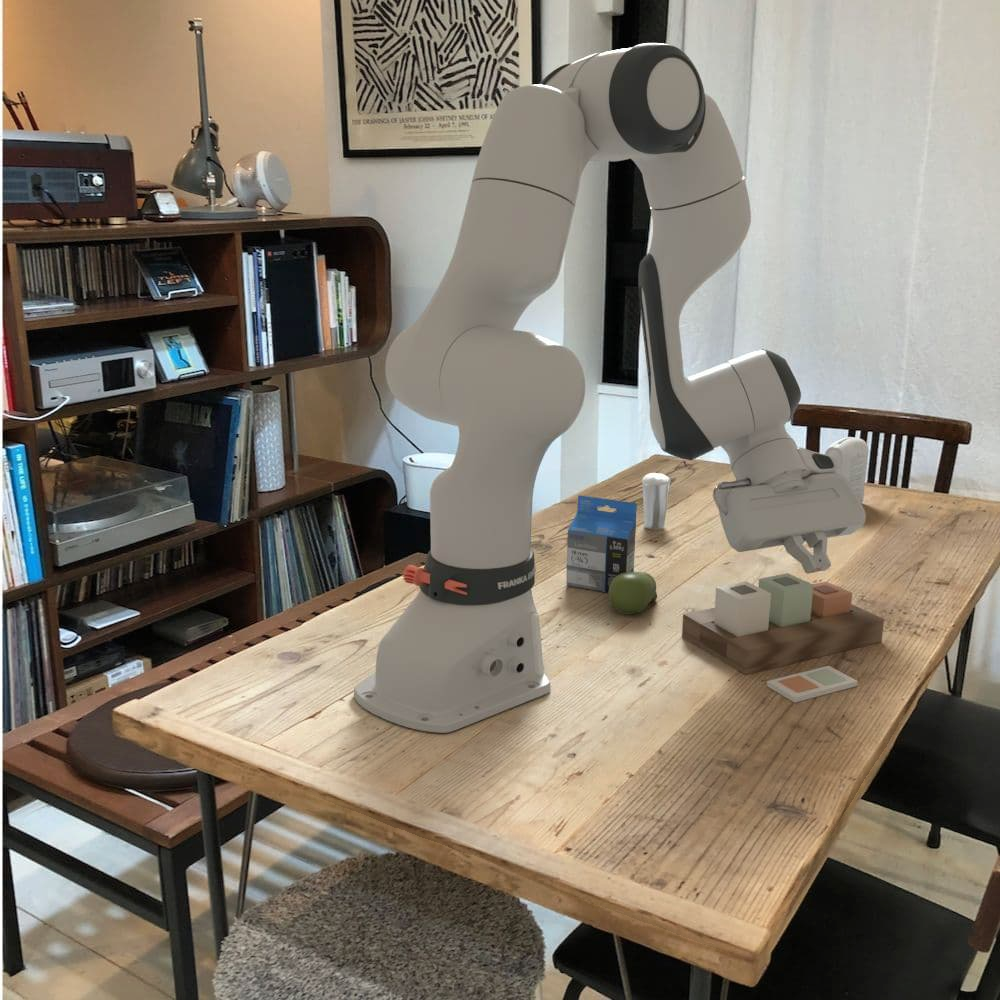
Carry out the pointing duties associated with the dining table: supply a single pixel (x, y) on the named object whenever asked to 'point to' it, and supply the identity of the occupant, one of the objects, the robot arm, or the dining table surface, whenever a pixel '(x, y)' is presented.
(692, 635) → the keypad base
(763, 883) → the dining table surface
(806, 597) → the key sage
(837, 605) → the key rust
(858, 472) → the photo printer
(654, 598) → the pear
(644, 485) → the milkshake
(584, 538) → the label tape cartridge
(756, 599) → the key ivory
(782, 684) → the tile
